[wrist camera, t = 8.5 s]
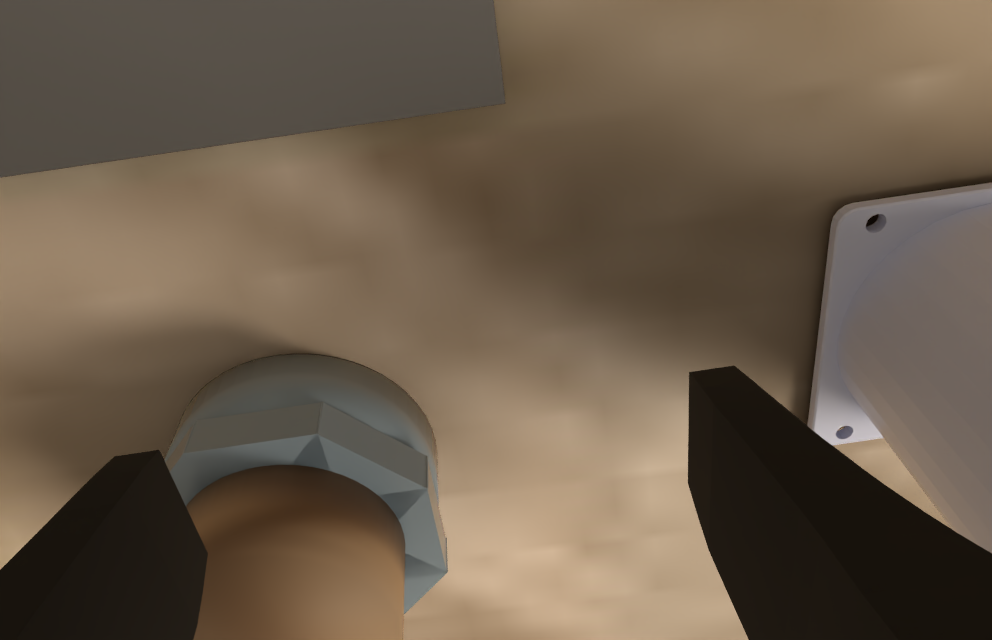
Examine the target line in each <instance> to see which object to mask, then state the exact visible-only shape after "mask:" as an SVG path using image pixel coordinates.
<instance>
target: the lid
mask: <svg viewBox="0 0 992 640" xmlns="http://www.w3.org/2000/svg"><path fill="white" fill-rule="evenodd" d="M186 508H187V510H188V512H189V514H190V516H191V518H192V521H193V523H194V525H195V527H196V529H197V531H198V533H199V535H200V538H201V540H202V542H203V544H204V546H205V548H206V550H207V552H208V557H207V565H206V572H205V580H204V587H203V594H202V600H201V606H200V612H199V618H198V624H197V628H196V632H195V635H194V639H193V640H403V625H404V584H405V538H404V533H403V530H402V527H401V524H400V522H399V520H398V518H397V517H396V515H395V513H394V512H393V511H392V509H391V508H390V507H389V505H388V504H387V503H386V502H385V501H384V500H383V499H382V498H380V497H379V496H378V495H377V494H376V493H374V492H373V491H372V490H370V489H369V488H367V487H366V486H364V485H362V484H360V483H359V482H357V481H355V480H353V479H350V478H348V477H346V476H344V475H341V474H338V473H335V472H332V471H328V470H324V469H320V468H315V467H309V466H300V465H270V466H261V467H255V468H249V469H245V470H242V471H239V472H235V473H232V474H230V475H227V476H225V477H223V478H220V479H218V480H217V481H215V482H213V483H211V484H210V485H208V486H206V487H205V488H204V489H203V490H201V491H200V492H199V493H197V494H196V495H195V496H194V497H193V499H192V500H191V501H190V502H189V503H188V504H187V506H186Z"/></svg>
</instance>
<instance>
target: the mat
mask: <svg viewBox="0 0 992 640" xmlns="http://www.w3.org/2000/svg"><path fill="white" fill-rule="evenodd" d="M498 104H505V95H504V86H503V78H502V69H501V61H500V52H499V44H498V35H497V27H496V18H495V10H494V1H493V0H0V177H7V176H14V175H21V174H28V173H34V172H41V171H48V170H55V169H62V168H69V167H75V166H82V165H89V164H96V163H103V162H109V161H116V160H123V159H130V158H137V157H144V156H150V155H157V154H164V153H171V152H178V151H184V150H191V149H198V148H205V147H212V146H219V145H225V144H232V143H239V142H246V141H253V140H259V139H266V138H273V137H280V136H287V135H294V134H300V133H307V132H314V131H321V130H328V129H334V128H341V127H348V126H355V125H362V124H369V123H375V122H382V121H389V120H396V119H403V118H410V117H416V116H423V115H430V114H437V113H444V112H450V111H457V110H464V109H471V108H478V107H485V106H491V105H498Z"/></svg>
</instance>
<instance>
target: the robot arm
mask: <svg viewBox="0 0 992 640" xmlns="http://www.w3.org/2000/svg"><path fill="white" fill-rule="evenodd" d="M876 214H879V217H878V219H877V221H876V222H875V223H874V224H872V225H870V226H866V223H867V221H868V219H870V218H871V217H872V216H874V215H876ZM843 426H846V427H844V428H843V429H841V430H839V431H837V430H838V429H840V428H841V427H843ZM879 438H884V439H885V440H886V441H887V443H888V444H889V445H890V447H891V448H892V449H893V451H894V452H895V453H896V455H897V456H898V457H899V459H900V460H901V462H902V463H903V464H904V466H905V467H906V468H907V470H908V471H909V472H910V474H911V475H912V476H913V478H914V479H915V480H916V482H917V483H918V484H919V486H920V487H921V488H922V490H923V491H924V492H925V494H926V495H927V496H928V498H929V499H930V500H931V502H932V503H933V504H934V506H935V507H936V508H937V510H938V511H939V512H940V514H941V515H942V516H943V518H944V519H945V520H946V522H947V523H948V524H949V526H950V527H951V528H952V529H950V528H949V527H947V526H946V525H944V524H942V523H941V522H939V521H938V520H936V519H934V518H933V517H931V516H930V515H928V514H927V513H925V512H924V511H922V510H921V509H919V508H918V507H916V506H915V505H913V504H912V503H911V502H909V501H908V500H906V499H905V498H903V497H902V496H900V495H899V494H897V493H896V492H894V491H893V490H892V489H890V488H889V487H887V486H886V485H884V484H883V483H881V482H880V481H879V480H877V479H876V478H875V477H873V476H872V475H870V474H869V473H868V472H866V471H865V470H864V469H862V468H861V467H860V466H858V465H857V464H856V463H854V462H853V461H852V460H850V459H849V458H848V457H847V456H845V455H844V454H843V453H841V452H840V451H839V450H837V449H836V448H835V447H833V446H832V445H838V444H845V443H852V442H859V441H865V440H872V439H879ZM688 485H689V488H690V491H691V495H692V498H693V501H694V504H695V508H696V511H697V514H698V518H699V521H700V524H701V527H702V530H703V533H704V536H705V540H706V543H707V546H708V549H709V551H710V554H711V556H712V558H713V561H714V563H715V565H716V567H717V570H718V572H719V574H720V576H721V579H722V581H723V583H724V585H725V588H726V590H727V592H728V594H729V597H730V599H731V601H732V603H733V606H734V608H735V610H736V612H737V614H738V617H739V619H740V621H741V623H742V625H743V628H744V630H745V632H746V634H747V637H748V639H749V640H992V183H985V184H978V185H971V186H964V187H958V188H951V189H944V190H937V191H930V192H923V193H917V194H910V195H903V196H896V197H889V198H883V199H876V200H869V201H862V202H855V203H851V204H848V205H845V206H843V207H842V208H841V209H839V210H838V211H837V212H836V214H835V215H834V216H833V219H832V222H831V229H830V238H829V246H828V255H827V263H826V272H825V280H824V289H823V297H822V306H821V314H820V323H819V332H818V340H817V349H816V357H815V366H814V374H813V383H812V391H811V400H810V408H809V417H808V425H806V424H804V423H803V422H802V421H801V420H799V419H798V418H797V417H796V416H795V415H793V414H792V413H791V412H790V411H788V410H787V409H786V408H785V407H784V406H782V405H781V404H780V403H779V402H778V401H776V400H775V399H774V398H773V397H772V396H770V395H769V394H768V393H767V392H766V391H764V390H763V389H762V388H761V387H760V386H758V385H757V384H756V383H755V382H754V381H753V380H751V379H750V378H749V377H748V376H746V375H745V374H744V373H743V372H741V371H740V370H739V369H738V368H736V367H735V366H729V367H722V368H715V369H709V370H702V371H695V372H689V442H688ZM207 557H208V552H207V550H206V548H205V546H204V544H203V542H202V540H201V538H200V535H199V533H198V531H197V529H196V527H195V525H194V523H193V521H192V518H191V516H190V514H189V512H188V510H187V508H186V506H185V504H184V501H183V499H182V497H181V495H180V493H179V491H178V489H177V487H176V484H175V482H174V480H173V478H172V476H171V474H170V472H169V470H168V467H167V465H166V463H165V461H164V459H163V457H162V455H161V453H160V450H156V451H149V452H142V453H136V454H129V455H122V456H115V457H114V458H113V459H111V460H110V461H109V462H108V463H107V464H106V465H105V466H104V467H103V468H102V469H101V470H99V471H98V472H97V473H96V474H95V475H94V476H93V477H92V478H91V479H90V480H89V481H88V482H87V483H86V484H85V485H84V486H83V487H82V488H81V489H80V490H79V491H78V492H77V493H76V494H75V495H74V496H73V497H72V498H71V499H70V500H69V501H68V502H67V503H66V504H65V505H64V506H63V507H62V508H61V509H60V510H59V511H58V512H57V513H56V514H55V515H54V516H53V517H52V518H51V519H50V521H49V522H48V523H47V524H46V525H45V526H44V527H43V528H42V529H41V530H40V531H39V532H38V533H37V534H36V535H35V536H34V537H33V538H32V539H31V540H30V541H29V542H28V543H27V544H26V545H25V546H24V547H23V548H22V549H21V550H20V551H19V552H18V553H17V554H16V555H15V556H14V557H13V558H12V559H11V560H10V561H9V562H8V563H7V564H6V565H5V566H4V567H3V568H2V569H1V570H0V640H193V639H194V635H195V632H196V628H197V624H198V618H199V612H200V606H201V600H202V594H203V587H204V580H205V572H206V565H207Z"/></svg>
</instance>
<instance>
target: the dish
mask: <svg viewBox="0 0 992 640" xmlns="http://www.w3.org/2000/svg"><path fill="white" fill-rule="evenodd" d="M164 461H165V463H166V465H167V467H168V470H169V472H170V474H171V476H172V478H173V480H174V482H175V484H176V487H177V489H178V491H179V493H180V495H181V497H182V499H183V501H184V504H185V506H187V504H188V503H189V502H190V501H191V500H192V499H193V497H194V496H195V495H196V494H197V493H199V492H200V491H201V490H203V489H204V488H205V487H206V486H208V485H210V484H211V483H213V482H215V481H217V480H218V479H220V478H223V477H225V476H227V475H230V474H232V473H235V472H239V471H242V470H245V469H249V468H255V467H261V466H270V465H300V466H309V467H315V468H320V469H324V470H328V471H332V472H335V473H338V474H341V475H344V476H346V477H348V478H350V479H353V480H355V481H357V482H359V483H360V484H362V485H364V486H366V487H367V488H369V489H370V490H372V491H373V492H374V493H376V494H377V495H378V496H379V497H380V498H382V499H383V500H384V501H385V502H386V503H387V504H388V505H389V507H390V508H391V509H392V511H393V512H394V513H395V515H396V517H397V518H398V520H399V522H400V524H401V527H402V530H403V533H404V538H405V584H404V614H405V613H406V612H407V611H408V610H409V609H410V608H411V607H412V606H413V605H414V604H415V603H416V602H417V601H418V600H419V599H420V598H421V597H423V596H424V595H425V594H426V593H427V592H428V591H429V590H430V589H431V588H432V587H433V586H434V585H435V584H436V583H437V582H438V581H439V580H440V579H441V578H442V577H443V576H444V575H445V574H446V573H447V572H448V568H447V538H446V537H445V532H444V528H443V523H442V519H441V515H440V510H439V504H438V460H437V447H436V440H435V437H434V433H433V430H432V427H431V425H430V423H429V421H428V419H427V417H426V416H425V414H424V413H423V411H422V410H421V408H420V407H419V406H418V404H417V403H416V402H415V401H414V400H413V399H412V398H411V397H410V396H409V395H408V394H407V393H406V392H405V391H404V390H403V389H401V388H400V387H399V386H398V385H397V384H395V383H394V382H392V381H391V380H389V379H388V378H386V377H384V376H383V375H381V374H379V373H377V372H375V371H373V370H371V369H369V368H367V367H364V366H361V365H359V364H356V363H353V362H350V361H347V360H342V359H338V358H334V357H328V356H320V355H312V354H289V355H278V356H271V357H266V358H262V359H257V360H254V361H251V362H248V363H245V364H241V365H239V366H237V367H235V368H233V369H230V370H228V371H226V372H224V373H223V374H221V375H220V376H218V377H217V378H215V379H213V380H212V381H211V382H209V383H208V384H207V385H206V386H205V387H204V388H203V389H201V390H200V391H199V392H198V394H197V395H196V396H195V397H194V398H193V399H192V401H191V402H190V403H189V405H188V407H187V408H186V410H185V412H184V414H183V416H182V418H181V421H180V423H179V426H178V428H177V431H176V433H175V435H174V438H173V440H172V443H171V445H170V448H169V450H168V453H167V455H166V458H165V460H164Z"/></svg>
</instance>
